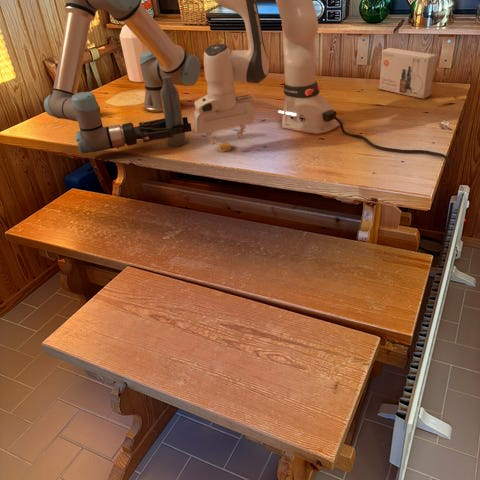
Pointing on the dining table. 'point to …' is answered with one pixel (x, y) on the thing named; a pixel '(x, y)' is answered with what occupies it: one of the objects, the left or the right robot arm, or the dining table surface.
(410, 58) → the skincare box
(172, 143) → the bottle
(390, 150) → the right robot arm
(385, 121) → the dining table surface
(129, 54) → the container
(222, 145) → the cap
